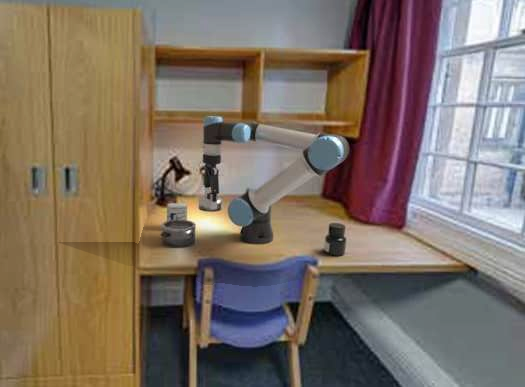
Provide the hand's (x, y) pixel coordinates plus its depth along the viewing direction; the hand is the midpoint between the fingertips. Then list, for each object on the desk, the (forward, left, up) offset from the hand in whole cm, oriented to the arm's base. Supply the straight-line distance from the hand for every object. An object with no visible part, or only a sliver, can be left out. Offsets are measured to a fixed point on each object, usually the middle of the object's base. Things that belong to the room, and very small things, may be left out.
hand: (210, 205), depth 178 cm
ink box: (+21, -3, -16) cm, 26 cm away
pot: (+9, +10, -16) cm, 21 cm away
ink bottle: (-50, -20, -16) cm, 56 cm away
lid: (0, 0, -1) cm, 1 cm away
